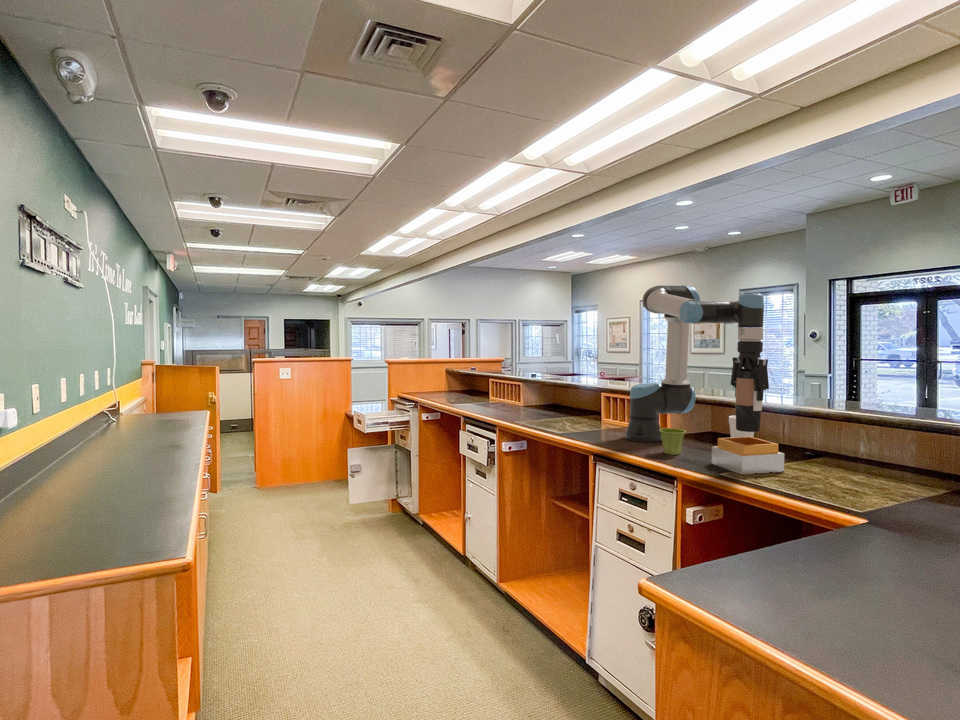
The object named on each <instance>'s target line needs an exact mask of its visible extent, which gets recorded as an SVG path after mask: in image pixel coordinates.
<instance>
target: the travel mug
mask: <svg viewBox="0 0 960 720" xmlns="http://www.w3.org/2000/svg"><path fill="white" fill-rule="evenodd" d="M754 373H756V374H759V372H758V371H749V370H748V371H738V370H737V384H736V397H735V415H736V430H739V431H744V432H754V433H759V432H760V430H761V416H762V414H761V413H762V411H753V397H754V389H755V385H754ZM759 387H760V386H759Z"/></svg>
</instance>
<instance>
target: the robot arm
mask: <svg viewBox="0 0 960 720" xmlns="http://www.w3.org/2000/svg"><path fill="white" fill-rule="evenodd" d="M764 299H765V297H764V295H763V294H761V293H742V294H740V295H739V296H738V301H705V300H704V301H702V300H701V297H700V294H699V291H698V290H697V289H696V288H695V287H693V286H690V285H655V286H653V287H650V288H648V289H647V290H646V291H645V293H644V294H643V296H642V305H643V307H644V309H645V310H647V311H648V312H650V313H654V314H663V318H664V319H665V320H666V322H667V329H666V330H667V331H666V332H667V333H666V336H667V337H666V354H665V376H664V378H663V380H661V382H660V383H661V385H659V383H657V382H649V383H647V382H646V383H639V384H635V385H633V386H631V387H630V390H629V391H630V392H629V422H628V424H627V427H626V430H625V434H624V435H625V436H624V437H625V439H626V440H629V441H632V442H642V443H655V442H656V443H657V442H662V436H661V433H660V431H659V430H660V429H662V428H661V426H660V423H659V415H664V414H665V415H666V414H667V415H669V414H676V415H680V414H687V413H689V412H691V410H692V409H693V408H694V407H695V403H696V398H697V395H696V393H695V391H696V390H695V389H694V387H692V386H691V382H690V381H689V379H688V378H687V377H688V360H689V359H688V358H689V357H688V356H689V340H690V324H730V325H731V324H737V328H738V329H737V340H739V341H738V342H737V352H738V353H739V355H738V356H735V357H734V356H733V357H732V367H731V368H732V369H731V377H730V386H733V387H734V392H735V393H734V395H735V398H736V384H737V370H738V371H748V370H749V371H758V372H759V374H756V373H754V385H755V389H754V397H753V411H761V412H762V410H763V400H764V391H766V390H769V388H770V386H769V374H768V362H769V359H767V358H762V357H761V353H762V352H763V349H764V348H763V347H764V346H763V345H764V343H763V341H762V340H763V339H764V314H765V313H764V312H765V311H764V310H765V304H764V303H765V302H764V301H765V300H764ZM759 386H760V387H759Z"/></svg>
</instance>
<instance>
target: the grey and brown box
mask: <svg viewBox="0 0 960 720" xmlns="http://www.w3.org/2000/svg"><path fill="white" fill-rule="evenodd" d="M710 463H711V464H712V465H714V466H716V467H717V466H718V467H720V468H722V469H725V470H728V471H729V472H730V471H731V472H734V473H736V474H738V475H741V474H745V475H754V474H755V473H758V474H771V473H770V472H772V473H782V471H784V472H785V453H784V452H780V451H779V443H776V442H772V441H768V440H765V439H760V438H757V437H754V436H753V437H750V436H749V437H731V436H730V437H718V438H717V445H715V446H713V445H712V446H711V462H710Z"/></svg>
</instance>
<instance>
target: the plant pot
mask: <svg viewBox="0 0 960 720" xmlns="http://www.w3.org/2000/svg"><path fill="white" fill-rule="evenodd" d="M659 431H660V433H661V436H662V440H661V443H662V451H663V453H664V454H666V455H667V454H668V455H672V456H677V455H681V452H682V446H683V441H684V437H685V433H687V431H686V430H685V429H682V428H681V429H680V428H672V427H671V428H670V427H669V428H668V427H665V428H664V427H663V428H661V429H660V430H659Z"/></svg>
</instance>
